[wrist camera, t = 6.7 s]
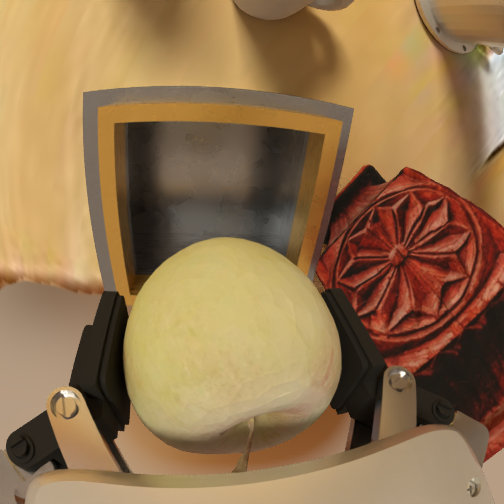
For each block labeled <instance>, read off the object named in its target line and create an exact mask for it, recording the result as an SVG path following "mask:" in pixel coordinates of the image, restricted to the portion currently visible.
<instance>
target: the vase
mask: <svg viewBox="0 0 504 504" xmlns="http://www.w3.org/2000/svg"><path fill="white" fill-rule="evenodd" d="M324 243H325V244H326V245H327V247H326V249H325V250H324V252H323V253H322V255H321V256H320V258H319V261H318V265H317V268H316V274H317V276H318V278H319V279H320V281H321V283H322V285H323V286H324V288H325V290H326V289H328V288H341V289H342V290H343V292H344V293H345V295H346V296H347V298H348V300H349V301H350V303H351V304H352V306H353V308H354V309H355V311H356V313H357V314H358V316H359V318H360V319H361V321H362V323H363V324H364V326H365V328H366V329H367V331H368V333H369V335H370V336H371V338H372V340H373V341H374V343H375V345H376V347H377V348H378V350H379V352H380V354H381V355H382V357H383V359H384V361H385V362H386V364H387V366H388V368H389V367H390V366H395V365H396V366H402V367H405V368H406V369H408V370H409V371H410V372H411V373H412V374H413V376H414V378H415V382H416V386H418V387H420V388H422V389H425V390H427V391H429V392H431V393H434V394H436V395H438V396H441V397H443V398H445V399H447V400H448V401H449V402H450V403H451V404H452V406H453V407H454V411H455V412H456V411H457V410H458V411H459V412H461V413H463V414H465V415H467V416H469V417H470V418H472V419H474V420H476V421H478V422H480V423H481V424H483V425H484V426H486V428H487V429H488V432H489V441H488V446H487V450H486V454H485V458H484V462H485V461H486V460H488V459H489V458H491V457H492V456H493V455H494V454H496V453H497V452H499V451H500V450H501V449H502V448H504V227H503V226H502V225H501V224H500V223H498V222H497V221H496V220H495V219H494V218H492V217H491V216H490V215H489V214H488V213H486V212H485V211H484V210H482V209H481V208H479V207H477V206H476V205H475V204H473V203H472V202H471V201H468V200H466V199H464V198H462V197H460V196H459V195H458V194H457V193H455V192H454V191H453V190H451V189H450V188H448V187H446V186H444V185H442V184H440V183H437V182H435V181H434V180H432V179H430V178H428V177H427V176H425V175H424V174H422V173H421V172H419V171H416V170H414V169H411V168H408V167H405V168H404V169H402V170H401V171H400V172H399V174H398V175H397V176H396V177H394V178H393V179H392V180H390V181H389V182H387V183H386V181H385V180H384V179H383V178H382V177H381V175H380V174H379V173H378V172H377V170H376V169H375V168H374V167H373V166H371V165H366V166H363V167H362V168H361V170H360V171H359V172H358V173H357V174H356V175H355V177H354V178H353V179H352V180H351V181H350V182H349V183H348V184H347V186H346V187H345V188H344V189H343V190H342V191H341V192H340V193H339V194H338V195H337V196H336V197H335V201H334V205H333V209H332V213H331V217H330V221H329V224H328V228H327V232H326V236H325V240H324ZM484 462H483V463H484Z"/></svg>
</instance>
